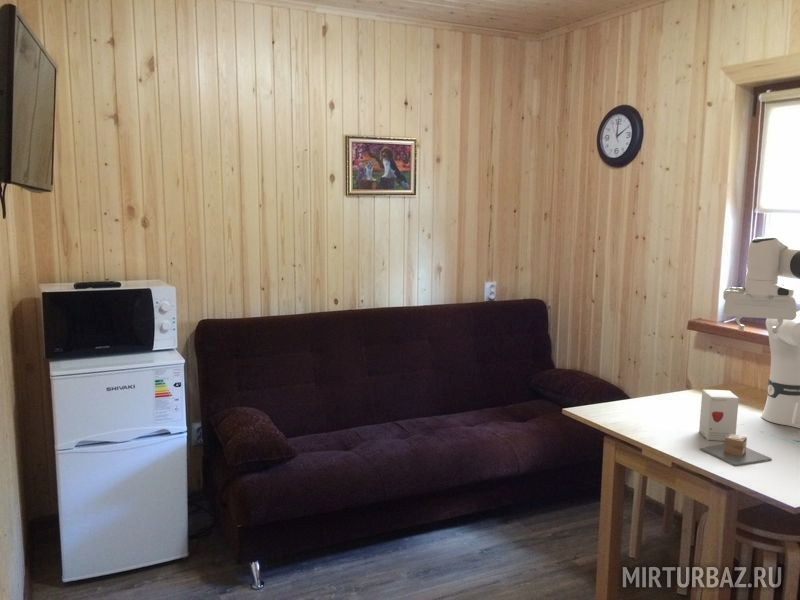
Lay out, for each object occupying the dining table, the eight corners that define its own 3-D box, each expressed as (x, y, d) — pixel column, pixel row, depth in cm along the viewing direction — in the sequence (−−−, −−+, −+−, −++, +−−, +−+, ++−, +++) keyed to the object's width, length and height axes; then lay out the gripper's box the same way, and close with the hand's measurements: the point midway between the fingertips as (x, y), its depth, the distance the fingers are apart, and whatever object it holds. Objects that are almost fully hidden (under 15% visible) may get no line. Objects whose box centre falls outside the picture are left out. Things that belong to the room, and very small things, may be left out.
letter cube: (728, 448, 206) (729, 433, 206) (746, 452, 203) (747, 436, 202) (723, 453, 203) (725, 437, 202) (742, 457, 199) (743, 441, 199)
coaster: (734, 444, 212) (735, 442, 212) (771, 460, 199) (771, 458, 199) (699, 449, 208) (700, 447, 207) (734, 466, 194) (735, 464, 194)
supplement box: (706, 440, 215) (709, 396, 213) (698, 431, 224) (701, 388, 222) (736, 442, 214) (739, 397, 212) (726, 432, 223) (729, 389, 221)
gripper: (723, 287, 207) (721, 330, 209) (799, 291, 198) (795, 336, 200) (724, 285, 213) (721, 327, 215) (797, 288, 203) (793, 332, 205)
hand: (757, 331), depth 207 cm, fingers open, 8 cm apart
